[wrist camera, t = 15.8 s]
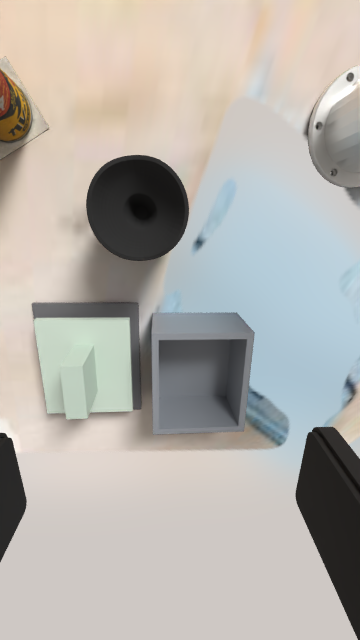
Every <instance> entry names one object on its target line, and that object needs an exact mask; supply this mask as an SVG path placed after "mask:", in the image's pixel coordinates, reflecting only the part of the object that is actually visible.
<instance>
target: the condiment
mask: <svg viewBox="0 0 360 640" xmlns="http://www.w3.org/2000/svg"><path fill="white" fill-rule="evenodd" d="M48 128H49V126H48V125H47V123H46V121H45V120H44V118H43V116H42V115H41V113H40V111H39V110H38V108H37V106H36V105H35V103H34V101H33V100H32V98H31V97H30V95H29V93H28V92H27V90H26V88H25V87H24V85H23V84H22V82H21V80H20V79H19V77H18V75H17V74H16V72H15V71H14V69H13V67H12V66H11V64H10V63H9V61H8V59H7V58H6V56H5V57H3V58H2V59H0V160H1V159H2V158H3V157H5V156H7V155H8V154H10V153H11V152H13V151H14V150H16V149H18V148H19V147H21V146H23V145H24V144H26V143H27V142H29V141H30V140H32V139H33V138H35V137H36V136H38V135H39V134H41V133H42V132H44V131H45V130H47V129H48Z"/></svg>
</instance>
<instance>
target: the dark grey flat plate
mask: <svg viewBox="0 0 360 640" xmlns="http://www.w3.org/2000/svg"><path fill="white" fill-rule="evenodd" d="M32 308H33V315H34V319H36V318H130V333H131V360H132V386H133V409H141V383H140V349H139V314H138V303H32Z"/></svg>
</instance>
